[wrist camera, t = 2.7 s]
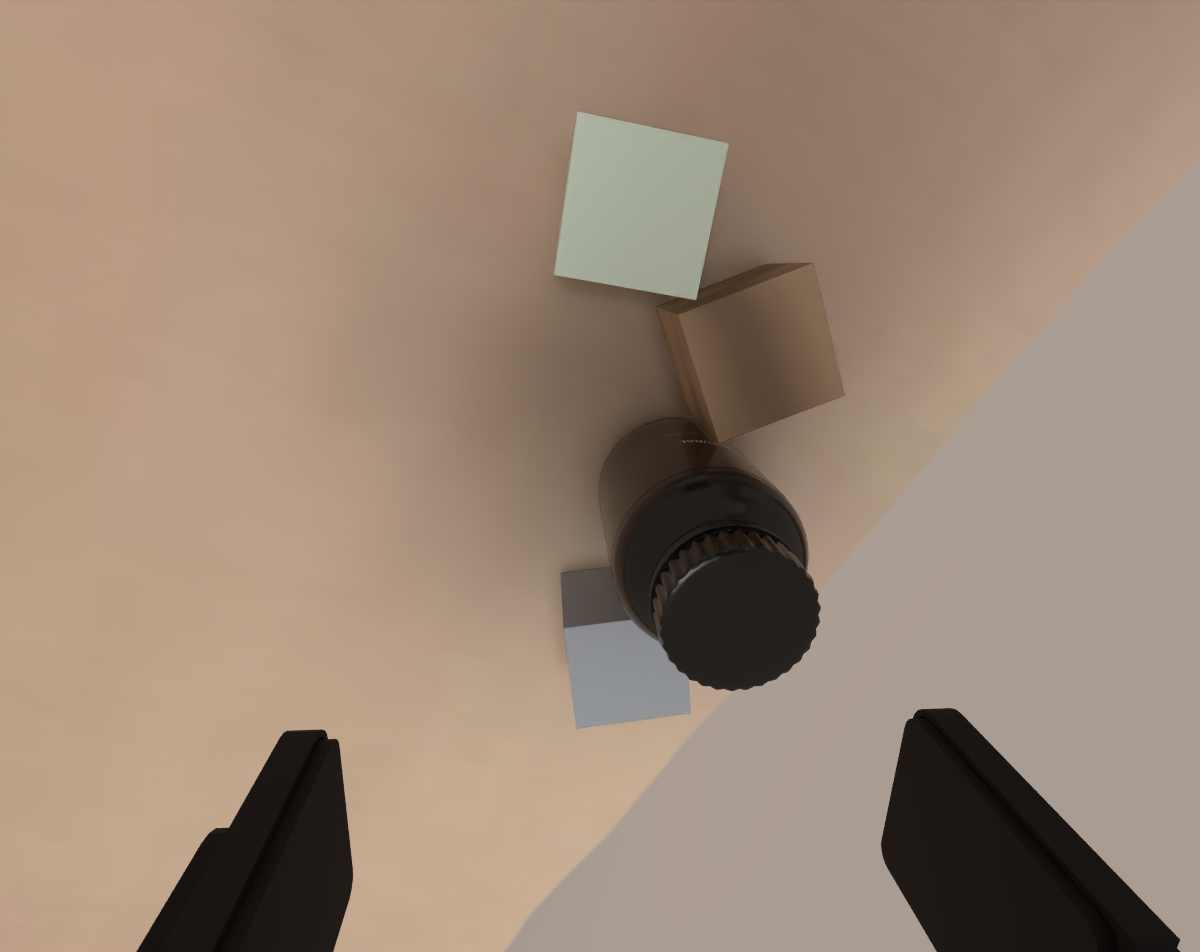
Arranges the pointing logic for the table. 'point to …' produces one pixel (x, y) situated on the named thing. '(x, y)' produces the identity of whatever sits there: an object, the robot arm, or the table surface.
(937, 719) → the robot arm
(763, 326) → the walnut cube
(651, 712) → the slate cube
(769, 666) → the supplement bottle
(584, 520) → the table surface
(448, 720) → the table surface
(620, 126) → the sage cube
